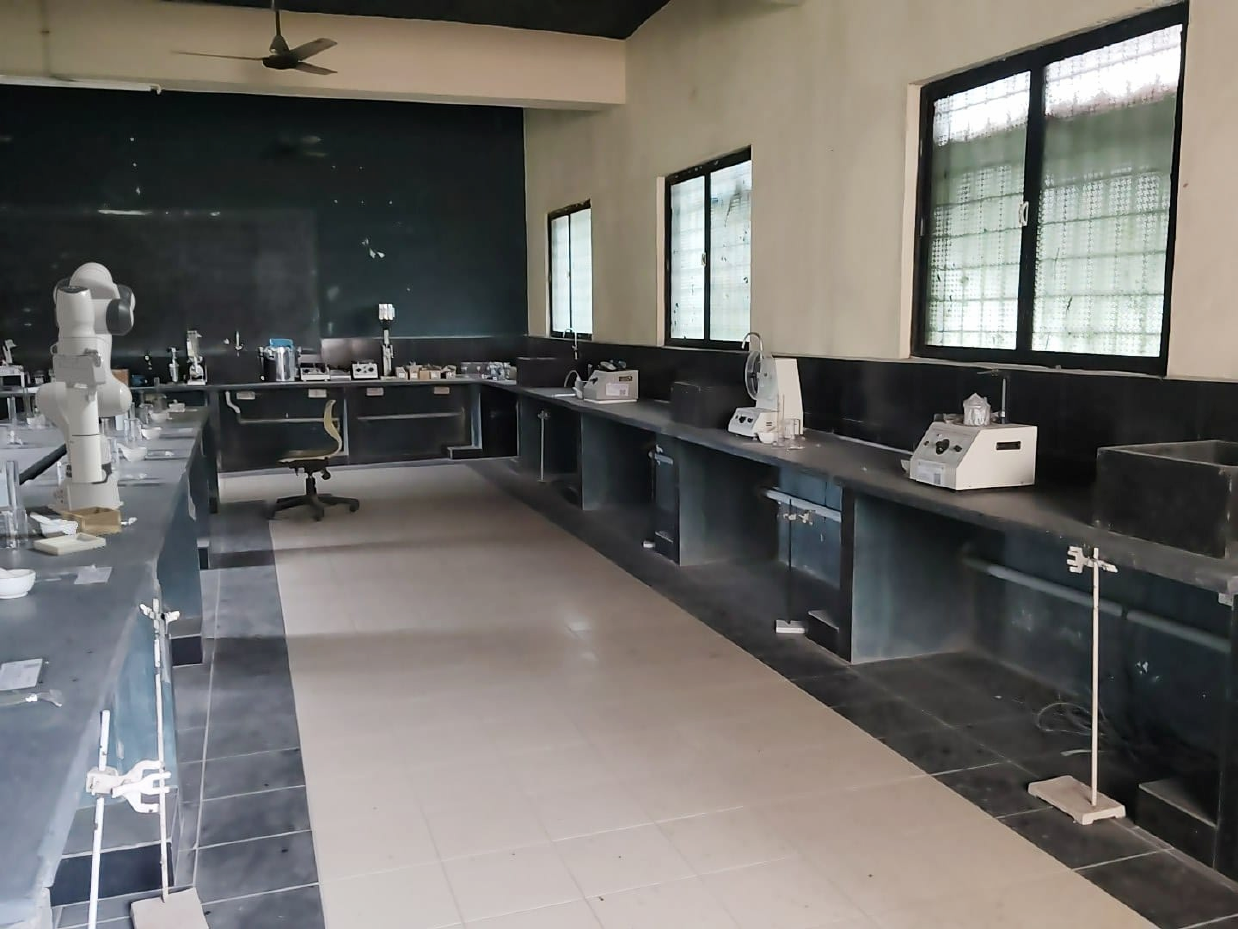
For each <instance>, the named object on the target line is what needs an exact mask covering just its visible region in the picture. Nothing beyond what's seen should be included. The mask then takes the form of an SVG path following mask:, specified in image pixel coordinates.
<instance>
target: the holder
mask: <svg viewBox="0 0 1238 929" xmlns="http://www.w3.org/2000/svg"><path fill="white" fill-rule="evenodd" d="M60 516H61V518H60V519H61V521H62V520H67V521H76V522H77V523H78V527H77V529H76V533H85V534H89V535H93V536H97V537H100V536H99V535H102V536H104V535H103V534H108V535H112V534H111V533H113V534H118V533H117V532H119V533H123V532H122V531H123V530H122V514H121V510H119V509H112V508H107V507H103V506H95V507H89V508H83V509H77V510H71V511H64V512H61V514H60Z"/></svg>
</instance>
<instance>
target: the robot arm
mask: <svg viewBox="0 0 1238 929" xmlns="http://www.w3.org/2000/svg"><path fill="white" fill-rule="evenodd" d="M53 300H54V304H55V307H54V310H53V312H54V321H55V322H54V323H55V325H56V327H57V328H59V330H58V331H59V332H58V341H56V343H54V344H53V345H51V346H50V354H51V355H53V356H52V366H53V368H52V369H53V375H54V377H55V380H56V381H51V382H47V383H43V384H41V385H40V386H39V387H38V389H37V390H36V393H35V394H34V402H35V406H36V408H37V410H38V411H39V412H40V414H42V416H44V417H46V418H47V419H49V420H51V421H52V422H53V423H54V424H55V425H56V426H57V428H58V429H59V431H60V432H61V434H62V436H63V439H64V442H65V443H64V444H65V447H66V456H67V462H68V463H67V465H64V468H65V467H66V468H65V476H66V477H65V478H64V479H63V480H62V481H61V482H60V484H59V485H58V486H57V487H56V488H55V490H54V491H53V498H54V499H55V502H52V503H49V504H47V507H48V509H49V510H51V509H52V510H51V511H53V512H55V513H56V514H59V515H61V512H64V511H71V510H77V509H83V508H89V507H95V506H103V507H107V508H112V509H116V510H119V508H120V507H121V506H124V501H122V500H120V495H119V489H118V483H117V479H115V478H114V477H113V476H112V475H113V466H112V462H111V461H110V449H109V448H110V447H109V439H108V438H107V435H106V434H104V433H103V432H102V431H100V430H99V437H100V452H101V468H102V480H101V481H97V482H88V483H76V482H73V481H72V466H71V452H70V437H69V422H68V406H67V391H66V388H71V387H87V389H88V392H87V395H86V401H89V402H92V401H95V394H96V391H97V404H98V418H111V417H117V416H121V415H125V414H126V413H128V411H129V410H130V408H131V406H132V403H133V396H132V392H131V390H130V388H129V387H128V386H127V385H126V384H125V383H124V382H123V381H120V380H119V379H117V377H115V376H114V374H113V372H112V369H111V355H112V347H113V345H112V344H113V343H112V342H113V337H112V336H125V335H127V333H129V332H130V331H131V330H132V328H133V325H134V319H135V318H134V312H133V311H134V310H135V306H136V298H135V295H134V293H133V290H132V288H131V287H129V286H126V285H123V284H120V283H119V284H116V283H114V282H113V278H112V275H111V272H110V271H109V270H108V268H106V267H105V266H104V265H103V264H100V263H96V262H87V263H84V264H83V265H81V266H79V267H78V268H77V269H76V270H75V271H74V272H73V274H72V276H68V277H67V278H63V279H61V280H59V281H58V282H56V286H55V287H54V290H53Z"/></svg>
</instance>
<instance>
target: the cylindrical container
mask: <svg viewBox="0 0 1238 929" xmlns="http://www.w3.org/2000/svg"><path fill="white" fill-rule="evenodd" d="M66 391H67V406H68V422H69V437H70V452H71V466H72V481H73V482H76V483H88V482H97V481H101V480H102V468H101V452H100V437H99V431H100V424H99V417H98V404H97V391H96V394H95V401H92V402H89V401H86V395H87V392H88V389H87V387H71V388H66Z"/></svg>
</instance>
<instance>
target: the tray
mask: <svg viewBox="0 0 1238 929" xmlns="http://www.w3.org/2000/svg"><path fill="white" fill-rule="evenodd" d="M106 541H107V540H106V538H103V537H101V536H97V537H96V536H93V535H89V534H85V533H76V534H70V535H66V534H64V535H61V536H56V537H55V536H54V537H49V538H43V539H38V540H34V541H33V545H34V550H38V551H40V552H41V551H42V552H45V553H48V554H51V555H55V556H64V555H68V554H69V553H70V554H74V552H75V553H79V552H85V551H88V550H94V549H93V548H95V549H99V548H98V547H100V548H103V547H102V546H105V547H107V542H106Z"/></svg>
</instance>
